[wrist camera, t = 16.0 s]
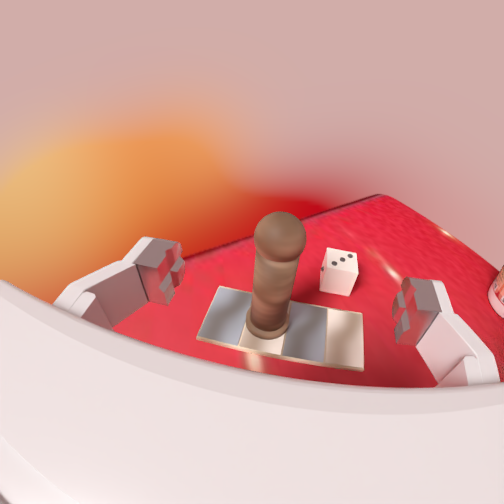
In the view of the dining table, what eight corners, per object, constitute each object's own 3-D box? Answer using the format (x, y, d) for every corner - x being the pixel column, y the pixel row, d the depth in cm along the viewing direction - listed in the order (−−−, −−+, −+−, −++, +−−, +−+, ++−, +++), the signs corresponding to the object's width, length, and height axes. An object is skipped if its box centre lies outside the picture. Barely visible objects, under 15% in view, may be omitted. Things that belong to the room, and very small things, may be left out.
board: (361, 315, 35) (362, 312, 35) (362, 371, 28) (364, 369, 28) (219, 287, 38) (219, 285, 38) (196, 339, 31) (196, 337, 31)
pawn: (290, 310, 35) (313, 207, 26) (284, 343, 31) (311, 237, 21) (250, 302, 35) (260, 197, 26) (241, 334, 31) (247, 225, 22)
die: (347, 274, 42) (356, 251, 39) (349, 296, 38) (358, 272, 35) (318, 268, 42) (325, 244, 39) (317, 290, 39) (324, 266, 36)
